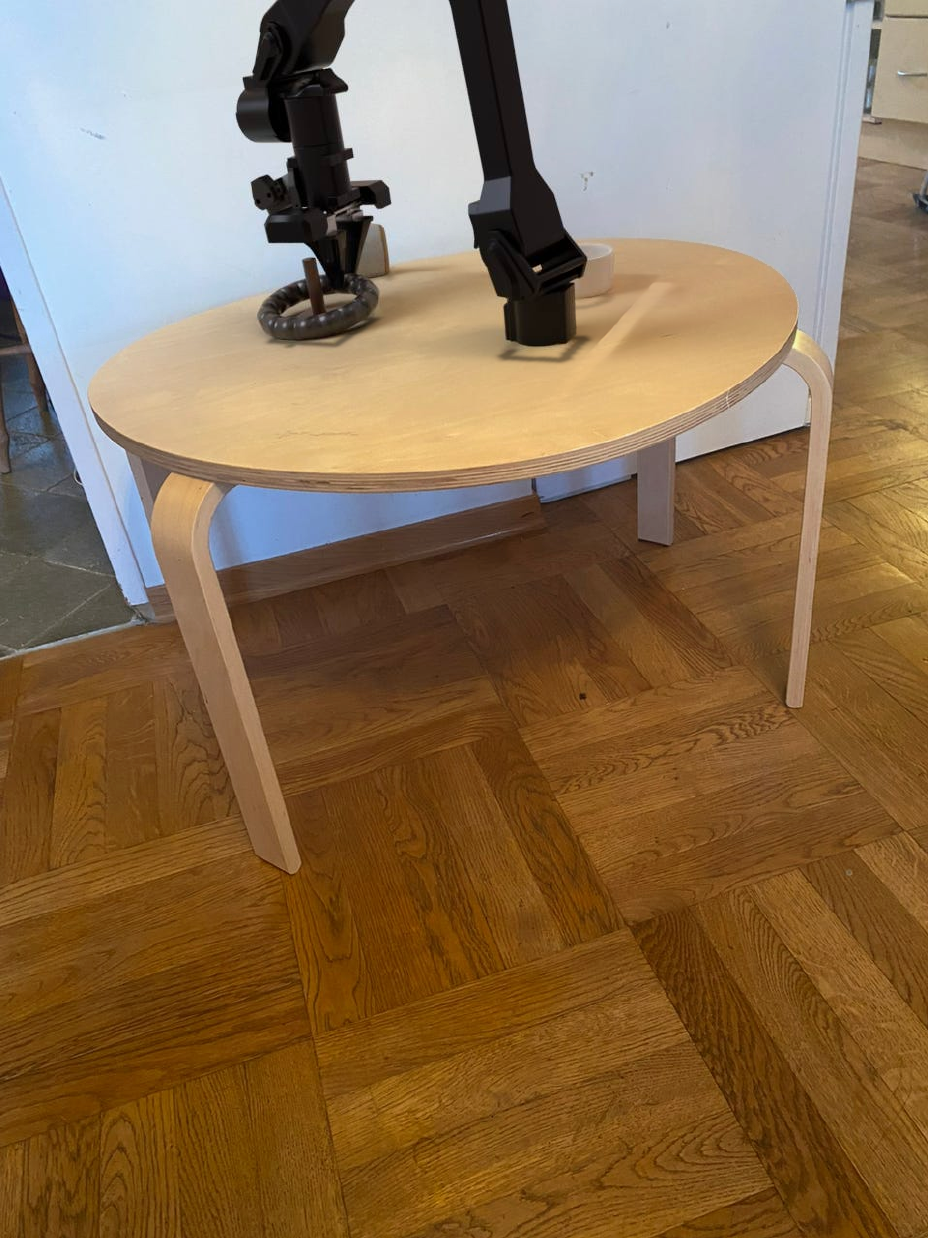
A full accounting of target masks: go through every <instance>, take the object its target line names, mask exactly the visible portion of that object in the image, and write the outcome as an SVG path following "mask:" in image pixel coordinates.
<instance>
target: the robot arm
mask: <svg viewBox="0 0 928 1238" xmlns="http://www.w3.org/2000/svg"><path fill="white" fill-rule="evenodd" d="M355 1H356V0H275V2H274V3H272V4H271V5H270V7H269V8H268V9H267V10H266V12H265V13H263V15H262V17H261V20H260V24H259V37H258V43H257V50H256V55H255V61H254V65H253V68H252V71H251V73H252V74H251V75H246V76H242V83H243V88H244V89H243V90H242V91H241V92H240V94H239V96H238V98H237V101H236V106H235V107H236V109H235V113H234V114H235V119H236V123H237V126H238V128H239V131H240V132H241V134H243V136H244V137H245V138H246V139H248V140H249V141H250V142H253V143H259V144H290V143H291V144H292V145H291V146H292V150H293V155H292V156H289V157H287V158H286V163H285V165H286V170H287V173H286V174H284V175H282V176H280V177H279V178H275V179H274V178H273V177H271V176H270V174H267V173H266V174H264V175H261V176H258V177H256V178H255V179H253V180H251V181H250V187H251V194H252V199H253V202H254V205H255V207H256V208H257V209H258V210H260V211H266V212H267V214H268V215H267V218H266V219H265V221H264V223H263V227H264V233H265V236H266V239H267V243H268V244H304V245H305V246H306V247H308V248H309V249H310V250H311V252H312V253H313V255H314V257H315V258H316V260H317V261H318V263H319V265H320V267H321V269H322V271H323V272H324V274H326V276H327V278H328V279H329V281H330V283H331V285H332V287H333V289H334V290H342V289H343V284H344V273H355V274H357V270H358V266H359V262H360V258H361V254H362V251H363V247H364V243H365V240H366V237H367V233H368V230H369V227H370V224H371V223H372V222H373V221H374V219H375V217H374V215H364V211H363V209H361V207H362V206H374V207H375V209H376V210H382V209H385V208H386V207H389V206H391V205H392V198H391V191H390V187H389V185H387V183H385V182H384V180H383V179H370V180H369V179H368V180H351V176H350V171H349V165H348V160H352V159H354V158H355V156H354V149H353V147H346V146H345V141H344V135H343V129H342V123H341V118H340V117H341V116H340V113H339V107H338V101H337V95H339V94H342V93H347V92H348V91H349V85H348V83H347V82H345V80H343V78H341V77H339V76H338V75H337V74H336V72H335V71H334V70H333V68H332V67H330V66H331V65H332V64H333V63H334V61H335V59H336V58H337V55H338V53H339V51H340V48H341V46H342V43H343V41H344V39H345V37H346V17H347V15H348V13H349V10H350V9H351V7H352V6H353V4H354V3H355ZM447 1H448V3H449V7H450V11H451V16H452V21H453V26H454V32H455V36H456V41H457V47H458V53H459V56H460V62H461V66H462V67H461V68H462V73H463V77H464V83H465V88H466V92H467V93H466V94H467V98H468V102H469V108H470V113H471V118H472V119H471V120H472V123H473V127H474V134H475V139H476V143H477V149H478V154H479V155H478V156H479V160H480V164H481V169H482V175H483V176H482V177H483V184H482V188H481V194H480V196H479V199H478V200H475V201H472V202H469V203H468V205H467V215H468V217H469V218H468V219H469V221H470V225H471V228H472V231H473V232H472V233H473V249H474V250H477V249H478V250H479V251H478V252H479V254H480V258H481V260H482V263H483V265H484V266H485V268H486V270H487V272H488V275H489V278H490V281H491V284H492V286H493V289H494V291H495V296H496V297H498V298H505V299H506V303H504V304H503V305H502V309H503V323H504V334H505V335H504V337H505V341H510V342H511V343H514V342H515V343H518V345H521V346H525V347H533V348H539V347H542V348H543V347H550V346H555V345H567V344H568V343H569V341H571V340H572V339H573V338H574V337H575V336H576V335H577V310H576V299H575V283H574V282H571V281H573V280H575V279H579V278H581V277H583V275H584V271H585V267H586V264H587V256H586V255H585V254H584V252H583V251H582V250H581V249H580V247H579V246H578V245H577V244H578V243H577V241H575V240H574V239H573V237H572V236H571V234H570V233H569V232H568V231H567V229H566V228H565V227H564V223H563V219H562V217H561V213H560V209H559V206H558V202H557V199H556V196H555V194H554V191H553V190H552V189H551V187H550V186H549V184H548V183H547V181H545V178H544V177H543V176H542V175H541V173H540V171H539V170H538V169H537V167H536V162H535V160H534V159H535V158H534V153H533V147H532V141H531V135H530V129H529V124H528V118H527V112H526V105H525V100H524V93H523V87H522V83H521V77H520V70H519V64H518V58H517V53H516V47H515V41H514V35H513V29H512V23H511V16H510V10H509V5H508V0H447ZM539 266H540V268H541V269H539V270H537V271H535V270H534V269H535V268H536V267H539Z"/></svg>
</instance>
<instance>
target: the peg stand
mask: <svg viewBox="0 0 928 1238" xmlns="http://www.w3.org/2000/svg"><path fill="white" fill-rule="evenodd" d="M301 264H302V269H303V272H304V277H305V278H306V283H307V288H308V292H309V297H310V299H309V301H310V305H311V307H310V308H308V309H306V310H305V311H303V312H301V313H299V314H297V315H296V316H294V317H293V318H301V317H308V316H314V315H319V314H322V313H326V312H329V311H332V310H335V309H336V308H329V307H328V308H327V307H326V303H325V297H324V296H323V292H322V287H321V282H320V277H319V275H320V273H319V268H318V263H317V258H316V257H315V256H314V257H313V256H311V257H305V258H302V260H301ZM305 278H304V279H305ZM336 334H337V333H335V334H331V335H330V336H334V335H336Z"/></svg>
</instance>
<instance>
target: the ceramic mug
mask: <svg viewBox="0 0 928 1238" xmlns="http://www.w3.org/2000/svg"><path fill="white" fill-rule="evenodd" d="M390 272H391V271H390V255H389V249H388V243H387V236H386V230H385V228H384V227H383V225H382V224H379V223H372V222H371V224H370V227H369V230H368V233H367V237H366V240H365V243H364V247H363V251H362V254H361V258H360V262H359V266H358V270H357V274H359V275H362V276H366V277H368V278H375V277H380V276H381V277H382V276H386V275H388V274H390Z"/></svg>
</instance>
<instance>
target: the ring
mask: <svg viewBox="0 0 928 1238" xmlns="http://www.w3.org/2000/svg"><path fill="white" fill-rule="evenodd" d="M319 277H320V282H321V287H322V292H323V297H324V296H329V295H337V294H338V295H353V296H355V297H354V298H352V300H351V301H350V302H348V303H346V304H343V305H341V306H340V307H338V308H334V309H335V310H332V311H329V312H326V313H322V314H319V315H314V316H308V317H301V318H294V317H291V316H290V317H289V316H282V314H284V313H285V312H286V311H287V310H288V309H290V308H293V307H295V306H297V305H299V304H300V303H302V302H305V301H310V297H309V292H308V288H307V283H306V278H303V279H299V280H296V281H293V282H291V283H288V284H287V285H285V286H283V287H281V288H278V289H277V290H275V291H274V292H273V293H271V294H270V295H269V296H268V297H267V298H265V299H264V300H263V301H262V303H261V305H260V308H259V309H258V312H257V314H256V315H257V321H258V323H259V325H260V327H261V328H262V331H263V332H265V334H268V335H269V336H272V337H275V338H278V339H280V340H289V341H292V340H293V341H306V340H313V339H318V338H325V337H328V336H332V335H331V334H334V335H336V334H337V333H341V332H343V331H346V330H348V329H350V328H352V327H354V326H356V325H358V324H360V323H361V322H363V321H365V320H366V318H368V317H369V316H370V315H371V314H372V313H373V312H374V311H375V310H376V308H377V306H378V303H379V298H380V290H379V287H378V285H376V283H374V281H373V280H372V278H371V277H369V278H368V277H366V276H362V275H359V274H355V273H344V284H343V289H342V290H334V289H333V287H332V285H331V283H330V281H329V279H328V278H327V276H326V274H325V273H324V274H319ZM335 333H336V334H335Z"/></svg>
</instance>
